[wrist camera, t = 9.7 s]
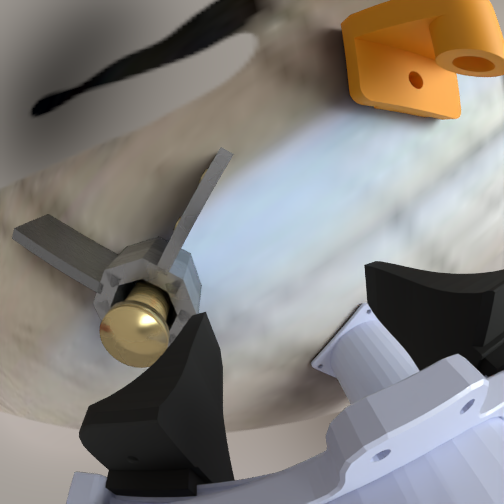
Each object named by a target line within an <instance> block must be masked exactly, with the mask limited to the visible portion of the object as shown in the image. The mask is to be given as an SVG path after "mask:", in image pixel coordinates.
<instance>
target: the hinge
mask: <svg viewBox="0 0 504 504" xmlns="http://www.w3.org/2000/svg"><path fill="white" fill-rule="evenodd" d="M233 155H234V154H232V153H231V152H229V151H227V150H225V149H223V148H222V147H221V148H220V149H219V151H218V153H217V155H216V156H215V158H214V160H213V161H212V163H211V165H210V166H209V168H208V169H206V170H205V172H204V173H203V175H202V177H201V179H200V181H199V183H200V184H199V186H198V188H197V189H196V191H195V193H194V195H193V197H192V198H191V200H190V202H189V204H188V206H187V208H186V210H185V211H184V213H183V215H182V217H180V218H179V219H178V221H177V223H176V225H175V227H174V229H173V230H174V233H173V234H172V236H171V238H170V240H169V242H168V241H166V240H164V239H162V238H160V237H156V238H153V239H150V240H146V241H143V242H140V243H137V244H134V245H131V246H128V247H126V248H125V249H124V250H123V251H122V252H121V253H120V254H119V255H118V254H116V253H114V252H112V251H111V250H109V249H107V248H105V247H103V246H102V245H100V244H98V243H96V242H95V241H93V240H91V239H89V238H88V237H86V236H84V235H83V234H81V233H79V232H77V231H76V230H74V229H72V228H71V227H69V226H67V225H66V224H64V223H62V222H61V221H59V220H57V219H56V218H54V217H53V216H51V215H49V214H47V215H45V216H42V217H40V218H37V219H35V220H32V221H30V222H28V223H25V224H23V225H21V226H18V227H16V228H14V232H13V236H12V239H13V240H15V241H16V242H18V243H19V244H21V245H22V246H23V247H25V248H26V249H28V250H29V251H31V252H32V253H34V254H35V255H37V256H38V257H40V258H41V259H43V260H44V261H46V262H47V263H49V264H50V265H52V266H53V267H55V268H57V269H58V270H60V271H61V272H63V273H65V274H66V275H68V276H69V277H71V278H73V279H74V280H76V281H78V282H79V283H81V284H83V285H85V286H86V287H88V288H90V289H91V290H93V291H95V292H97V293H96V296H95V299H94V302H93V305H94V307H95V309H96V311H97V313H98V315H99V317H100V319H101V321H102V320H103V318H104V317H105V315H106V314H107V312H108V311H109V309H110V308H111V307H112V306H113V305H115V304H116V303H118V302H121V301H125V300H126V298H127V296H128V295H129V293H130V292H131V290H132V289H133V287H134V286H133V283H132V282H133V281H136V280H140V279H144V280H146V281H148V282H150V283H152V284H154V285H156V286H158V287H160V288H162V289H163V290H165V291H167V292H168V294H169V296H170V298H171V301H172V303H171V306H170V310H169V313H168V316H167V319H166V323H167V325H168V328H169V333H170V337H169V343H168V347H169V346H170V344H171V343H172V342H173V341H174V339H175V338H176V337H177V335H178V334H179V333H180V331H181V330H182V328H183V327H184V326H185V324H186V323H187V321H188V320H189V319H190V317H191V316H192V315H195V314H199V304H200V295H201V286H202V285H201V283H200V280H199V277H198V274H197V271H196V268H195V265H194V263H193V260H192V257H191V253H189V252H187V251H185V250H183V249H181V247H182V245H183V244H184V242H185V240H186V238H187V236H188V234H189V232H190V230H191V228H192V227H193V225H194V223H195V221H196V219H197V217H198V216H199V214H200V212H201V210H202V208H203V207H204V205H205V203H206V201H207V199H208V198H209V196H210V194H211V192H212V191H213V189H214V187H215V185H216V184H217V182H218V180H219V178H220V177H221V175H222V173H223V171H224V170H225V168H226V166H227V165H228V163H229V161H230V160H231V158H232V156H233ZM168 347H167V348H168Z"/></svg>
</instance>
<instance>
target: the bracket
mask: <svg viewBox="0 0 504 504" xmlns="http://www.w3.org/2000/svg"><path fill="white" fill-rule="evenodd" d="M341 28H342V34H343V41H344V48H345V56H346V64H347V73H348V83H349V92H350V96H351V97H352V99H353V100H354V101H355V102H356V103H358V104H361V105H367V106H374V108H375V109H382V110H389V111H395V112H400V113H406V114H411V115H416V116H421V117H433V118H438V119H442V120H444V119H457V118H459V117H460V115H461V105H460V96H459V88H458V81H457V75H456V73H457V74H462V75H467V76H475V77H495V76H501V75H504V39H503V36H502V32H501V30H500V26H499V23H498V20H497V17H496V15H495V12H494V9H493V6H492V4H491V3H490V1H489V0H390V1H387V2H384V3H381V4H378V5H375V6H373V7H370V8H367V9H364V10H362V11H359V12H357V13H354V14H352V15H350V16H349V17H348V18H347V19H345V20H344V21H343V22H342V23H341Z"/></svg>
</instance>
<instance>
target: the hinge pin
mask: <svg viewBox="0 0 504 504" xmlns="http://www.w3.org/2000/svg"><path fill="white" fill-rule="evenodd" d="M171 303H172V301H171V298H170V296H169V294H168V292H167V291H165V290H163V289H162V288H160V287H158V286H156V285H154V284H152V283H150V282H148V281H146V280H144V279H140V280H138V281H137V282H136V284H135V285H134V287H133V289H132V290H131V292H130V293H129V295H128V296H127V298H126V300H125V301H121V302H118V303H116V304H115V305H113V306H112V307H111V308H110V309H109V311H108V312H107V314H106V315H105V317H104V318H103V320H102V322H101V325H100V337H101V341H102V343H103V345H104V347H105V348H106V350H107V351H108V352H109V353H110V354H111V355H112V356H113V357H114V358H115V359H117V360H118V361H120V362H121V363H123V364H126V365H128V366H132V367H138V368H145V367H150V366H151V365H153V364H154V363H155V362H156V361H157V360H158V359H159V357H160V356H161V355H162V354H163V353H164V352H165V351H166V349H167V347H168V343H169V337H170V333H169V328H168V325H167V323H166V319H167V316H168V313H169V310H170V306H171Z"/></svg>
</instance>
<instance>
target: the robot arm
mask: <svg viewBox="0 0 504 504" xmlns="http://www.w3.org/2000/svg"><path fill="white" fill-rule="evenodd" d="M364 266H365V277H366V289H367V303H363V304H362V305H361V306H360V307H359V308H358V309H357V311H356V312H355V313H354V314H353V315H352V317H351V318H350V319H349V320H348V321H347V323H346V324H345V325H344V326H343V327H342V328H341V330H340V331H339V332H338V333H337V334H336V335H335V336H334V338H333V339H332V340H331V341H330V342H329V343H328V344H327V345H326V347H325V348H324V349H323V350H322V351H321V352H320V353H319V354H318V355H317V356H316V357H315V358H314V360H313V361H312V362H311V365H312V367H313V368H315V369H317V370H319V371H321V372H324V373H326V374H328V375H330V376H333V377H335V378H337V379H338V381H339V383H340V385H341V387H342V389H343V391H344V393H345V394H346V396H347V398H348V400H349V402H350V404H351V405H349V406H347V407H346V408H345V409H344V410H343V411H342V412H341V413H340V414H339V415H338V416H337V417H336V418H335V419H333V420H332V422H331V423H330V425H329V428H328V431H327V434H326V443H327V450H326V451H324V452H323V453H320V454H318V455H316V456H314V457H312V458H310V459H308V460H305V461H303V462H301V463H299V464H296V465H294V466H292V467H289V468H287V469H285V470H282V471H280V472H276V473H272V474H267V475H263V476H258V477H252V478H247V479H241V480H234V476H233V471H232V466H231V461H230V456H229V451H228V445H227V439H226V432H225V425H224V418H223V366H222V358H221V351H220V347H219V345H218V342H217V340H216V337H215V335H214V332H213V330H212V327H211V325H210V322H209V319H208V317H207V314H206V312H203V313H199V314H195V315H192V316H191V317H190V319H189V320H188V321H187V323H186V324H185V326H184V327H183V328H182V330H181V331H180V333H179V334H178V335H177V337H176V338H175V339H174V341H173V342H172V343H171V344H170V346H169V347H168V348H167V349H166V351H165V352H164V353H163V354H162V355H161V356H160V357H159V359H158V360H157V361H156V362H155V363H154V364H153V365H151V366H150V367H149V368H148V369H147V370H146V371H145V372H144V373H142V374H141V375H140V376H139V377H137V378H136V379H135V380H134V381H132V382H131V383H130V384H128V385H127V386H125V387H124V388H122V389H121V390H119V391H117V392H116V393H114V394H112V395H111V396H109V397H107V398H105V399H103V400H101V401H99V402H97V403H95V404H92V405H90V406H89V407H88V410H87V412H86V415H85V418H84V420H83V423H82V426H81V428H80V431H79V438H80V440H81V442H82V444H83V446H84V447H85V448H86V449H87V450H88V451H89V452H90V453H91V454H92V455H93V456H94V457H95V458H96V459H97V460H98V461H99V462H100V463H102V464H103V465H104V466H105V467H106V468H107V469H108V470H109V472H108V477H105V476H103V475H100V474H94V473H85V472H74V476H73V480H72V483H71V486H70V490H69V494H68V498H67V502H66V504H504V270H499V271H494V272H486V273H476V274H450V273H438V272H431V271H425V270H419V269H414V268H409V267H405V266H400V265H396V264H391V263H386V262H380V261H375V262H372V263H369V264H366V265H364ZM369 309H370V310H369ZM367 310H369V311H368V312H367ZM320 364H321V365H320ZM319 365H320V366H319Z"/></svg>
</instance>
